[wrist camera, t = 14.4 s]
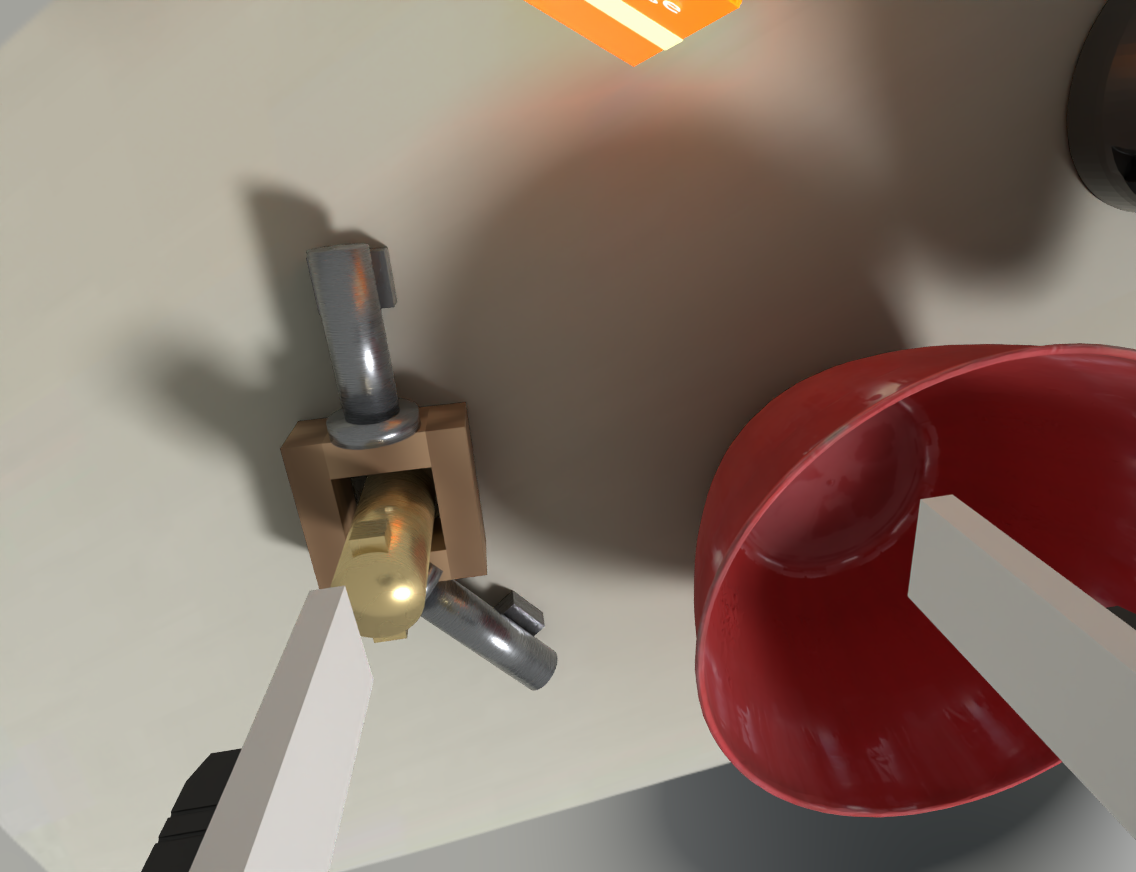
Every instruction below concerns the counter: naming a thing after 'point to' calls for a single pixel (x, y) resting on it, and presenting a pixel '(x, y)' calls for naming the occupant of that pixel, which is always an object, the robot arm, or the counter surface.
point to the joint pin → (389, 553)
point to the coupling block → (437, 444)
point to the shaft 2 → (492, 629)
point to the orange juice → (636, 22)
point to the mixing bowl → (900, 564)
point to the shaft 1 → (360, 345)
